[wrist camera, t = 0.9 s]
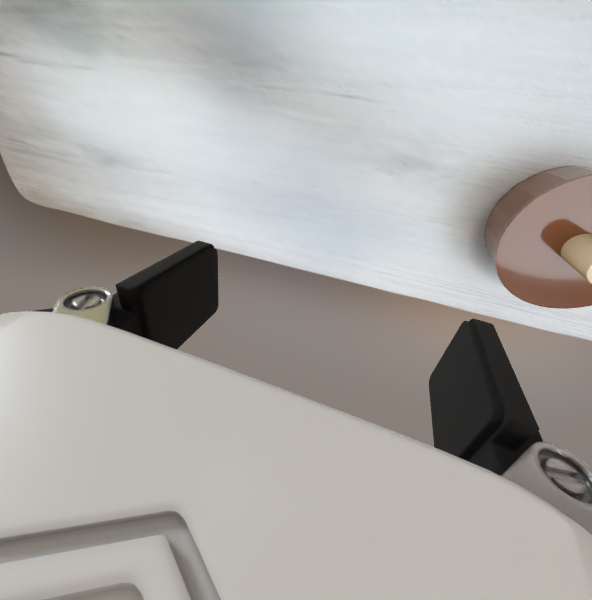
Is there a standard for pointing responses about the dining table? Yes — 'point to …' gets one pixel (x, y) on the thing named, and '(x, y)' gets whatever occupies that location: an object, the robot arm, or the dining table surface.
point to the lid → (550, 247)
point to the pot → (525, 199)
